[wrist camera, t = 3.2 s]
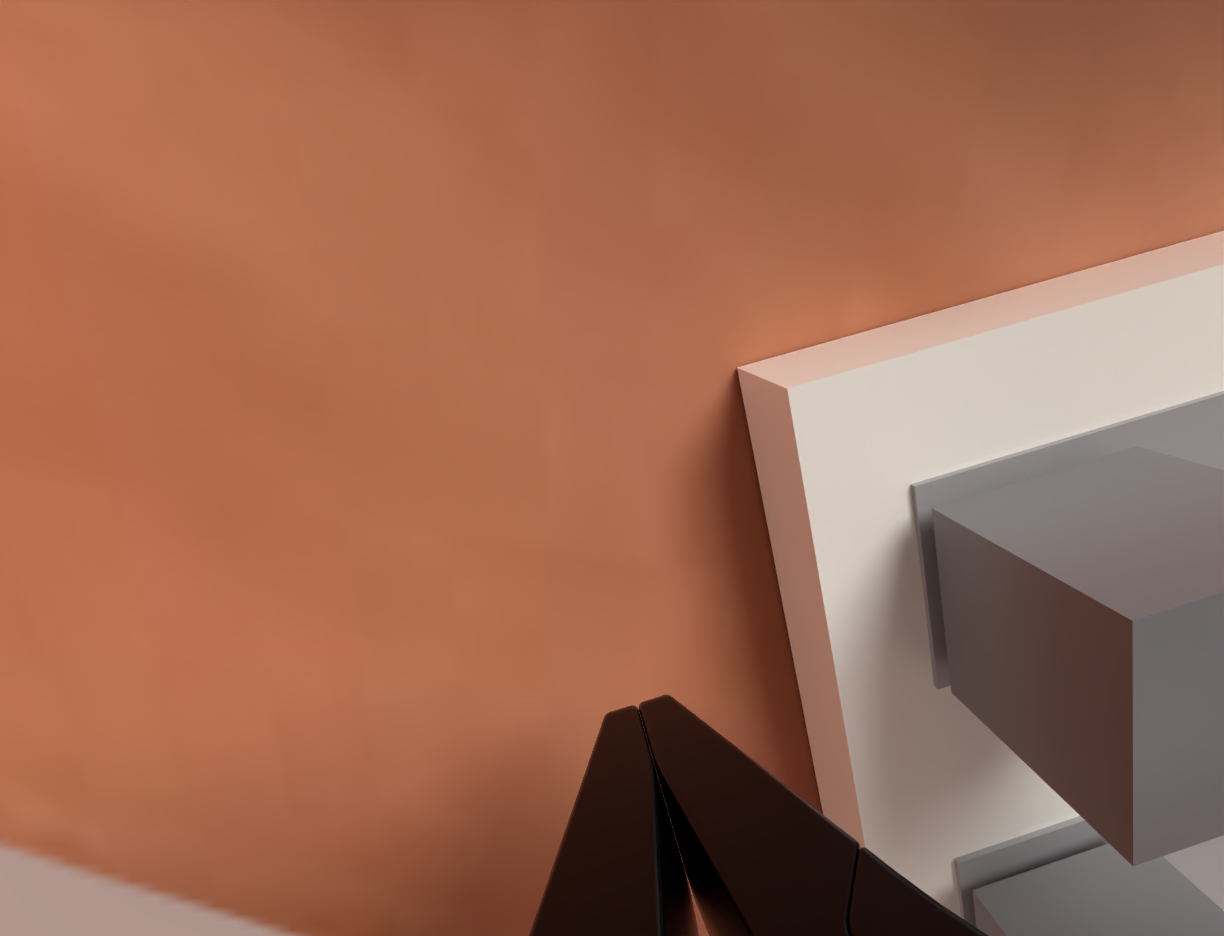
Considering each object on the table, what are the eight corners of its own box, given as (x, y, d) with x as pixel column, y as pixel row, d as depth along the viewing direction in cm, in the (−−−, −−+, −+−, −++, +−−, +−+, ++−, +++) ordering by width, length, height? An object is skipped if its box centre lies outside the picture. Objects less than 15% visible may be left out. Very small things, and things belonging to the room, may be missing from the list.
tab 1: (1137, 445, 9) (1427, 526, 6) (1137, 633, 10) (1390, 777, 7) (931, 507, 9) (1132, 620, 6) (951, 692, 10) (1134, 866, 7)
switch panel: (1514, 148, 11) (1730, 121, 9) (1411, 783, 16) (1543, 858, 14) (736, 367, 10) (790, 390, 8) (854, 977, 15) (908, 1087, 13)
